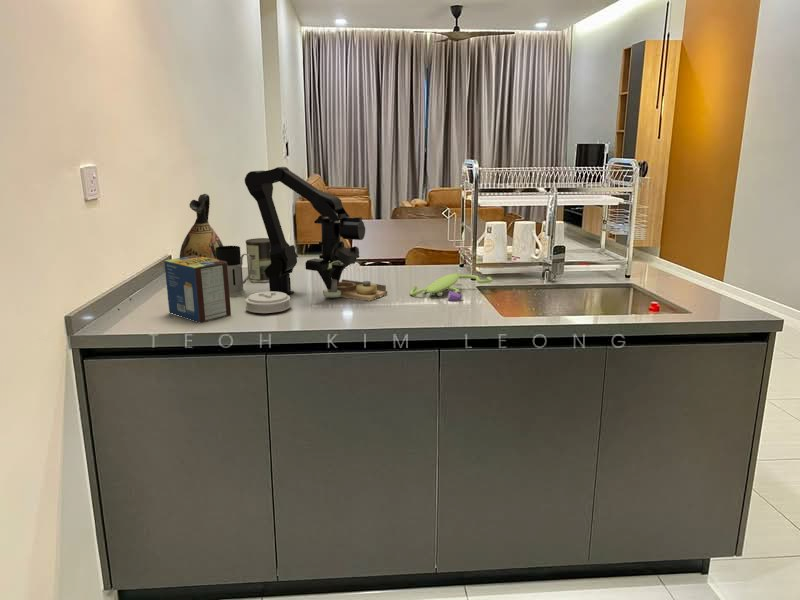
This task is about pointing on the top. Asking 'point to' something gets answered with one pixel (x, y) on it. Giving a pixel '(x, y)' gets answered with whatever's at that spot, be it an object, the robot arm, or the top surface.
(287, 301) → the lid
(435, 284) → the figurine
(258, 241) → the printed mug
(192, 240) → the ceramic jug
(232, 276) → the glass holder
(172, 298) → the protein box
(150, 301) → the top surface
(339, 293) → the planet gear
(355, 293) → the carrier board
